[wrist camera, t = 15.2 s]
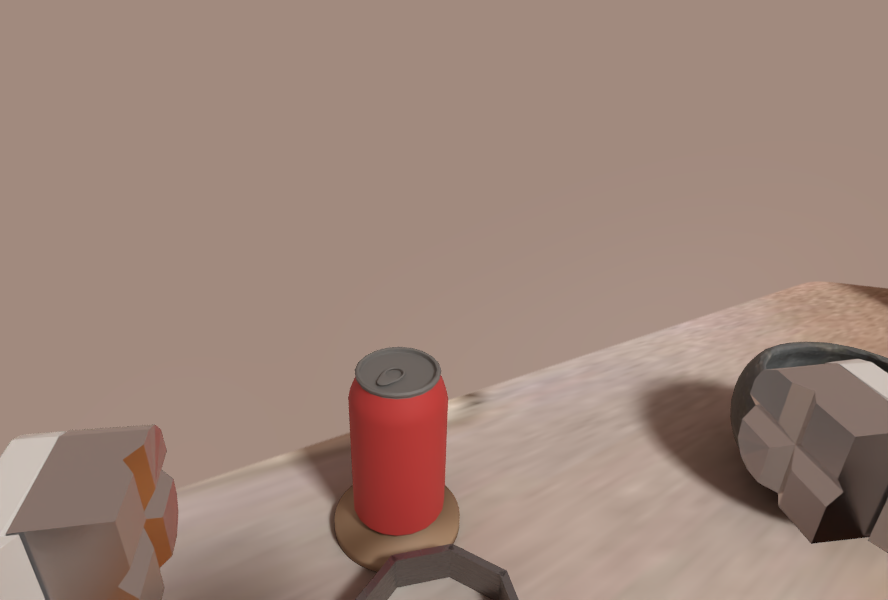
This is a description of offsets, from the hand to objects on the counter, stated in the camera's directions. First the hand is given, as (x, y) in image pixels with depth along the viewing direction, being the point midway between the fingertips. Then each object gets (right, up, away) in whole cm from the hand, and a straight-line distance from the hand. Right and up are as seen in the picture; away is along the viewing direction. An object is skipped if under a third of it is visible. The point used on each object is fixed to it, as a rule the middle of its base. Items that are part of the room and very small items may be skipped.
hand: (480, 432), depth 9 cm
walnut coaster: (-4, -14, +37) cm, 40 cm away
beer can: (-4, -13, +38) cm, 40 cm away
